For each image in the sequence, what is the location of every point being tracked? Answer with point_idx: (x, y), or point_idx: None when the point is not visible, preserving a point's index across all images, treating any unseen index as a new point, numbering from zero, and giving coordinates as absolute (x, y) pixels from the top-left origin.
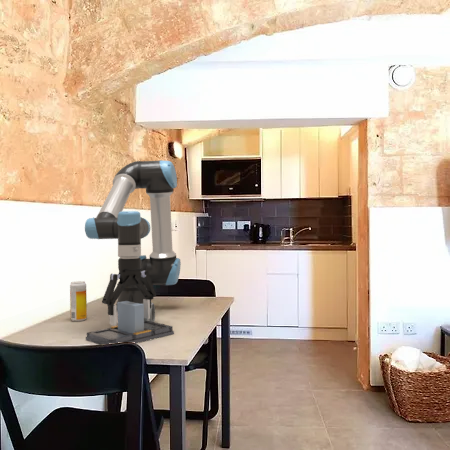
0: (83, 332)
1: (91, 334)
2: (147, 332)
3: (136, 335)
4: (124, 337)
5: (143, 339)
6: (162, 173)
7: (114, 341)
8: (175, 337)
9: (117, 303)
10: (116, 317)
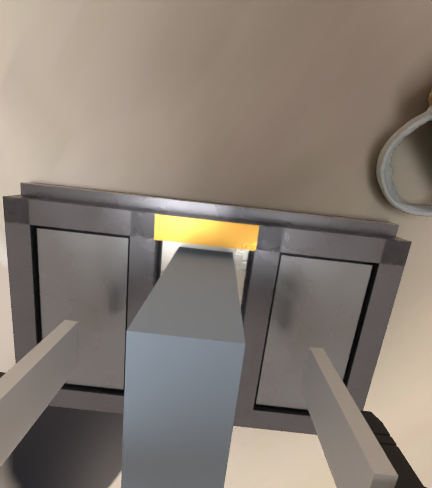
0: (105, 15)
1: (8, 243)
2: None
3: None
4: (84, 408)
5: None
6: None
7: None
8: (298, 450)
9: (130, 326)
10: (50, 400)
